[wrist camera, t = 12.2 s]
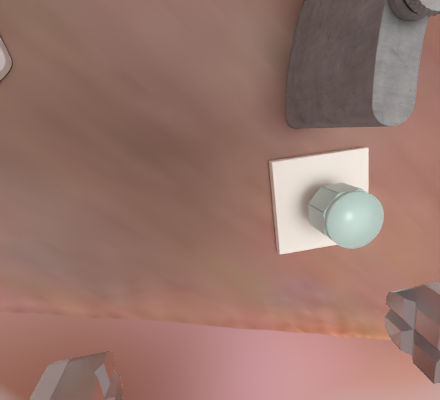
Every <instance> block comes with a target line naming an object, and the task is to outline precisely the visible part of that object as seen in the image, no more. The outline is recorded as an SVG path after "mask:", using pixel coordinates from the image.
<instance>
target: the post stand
mask: <svg viewBox="0 0 440 400" xmlns="http://www.w3.org/2000/svg"><path fill="white" fill-rule="evenodd" d="M269 169H270V181H271V192H272V203H273V214H274V225H275V236H276V248H277V251H278V252H279V254H286V253H291V252H297V251H303V250H309V249H314V248H320V247H326V246H331V245H337V244H336V243H335V242H334V241H332V240H331V239H329V238H328V237H327V236H325V235H324V234H323V233H321V232H320V231H319V230H317V229H316V228H315V227H313V226H312V225H310V223H309V210H308V204H309V202H310V200H311V199H312V198H313V197H314V195H315V194H316V193H317V191H318V190H319V189H320V188H321V187H322V186H326V185H331V184H336V183H345V184H348V185H351V186H354V187H358V188H361V189H363V190H364V191H366V192H367V193H368V148H367V147H358V148H351V149H345V150H338V151H331V152H325V153H318V154H311V155H305V156H298V157H291V158H285V159H278V160H271V161H269Z"/></svg>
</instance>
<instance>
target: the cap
mask: <svg viewBox="0 0 440 400" xmlns="http://www.w3.org/2000/svg"><path fill="white" fill-rule="evenodd" d="M308 210H309V223H310V225H312V226H313V227H315V228H316V229H317V230H319V231H320V232H321V233H323V234H324V235H325V236H327V237H328V238H329V239H331V240H332V241H334V242H335V243H336V244H338V245H339V246H341V247H344V248H350V249H351V248H359V247H362V246H364V245H366V244H368V243H369V242H371V241H372V240H373V239H374V238H375V237H376V236H377V234H378V233H379V231H380V229H381V227H382V224H383V220H384V212H383V208H382V205H381V203H380V202H379V200H378V199H377V198H376V197H374V196H373V195H371V194H369V193H367V192H366V191H364V190H363V189H361V188H358V187H354V186H351V185H348V184H345V183H336V184H331V185H326V186H322V187H321V188H320V189H319V190H318V191H317V193H316V194H315V195H314V197H313V198H312V199H311V200H310V202H309V204H308Z"/></svg>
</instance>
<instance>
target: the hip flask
mask: <svg viewBox="0 0 440 400" xmlns="http://www.w3.org/2000/svg"><path fill="white" fill-rule="evenodd" d="M437 14H440V0H305V1H304V4H303V7H302V10H301V13H300V16H299V19H298V23H297V27H296V31H295V35H294V39H293V44H292V49H291V55H290V61H289V67H288V75H287V86H286V120H287V123H288V124H289V125H290V126H291V127H292V128H296V129H297V128H338V127H378V126H396V125H399V124H401V123H402V122H404V121H405V120H406V119H407V118H408V117H409V116H410V115H411V113H412V111H413V109H414V106H415V101H416V90H417V79H418V71H419V64H420V57H421V51H422V46H423V40H424V35H425V31H426V26H427V21H428V17H430V16H435V15H437Z"/></svg>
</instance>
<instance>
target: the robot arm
mask: <svg viewBox="0 0 440 400" xmlns="http://www.w3.org/2000/svg"><path fill="white" fill-rule="evenodd" d="M11 65H12V61H11V57H10V55H9V53H8V51H7V49H6V47H5V45H4V43H3V41H2V39H1V37H0V80H1V79H2V78H3V77H4V76H5V75H6V74H7V73H8V72H9V70H10V68H11ZM386 305H387V306H388V307H389V308H390V310H389V312H388V313H387V315H386V316H385V326H386V329H387V332H388V335H389V337H390V338H391V340H392V341H393V343H394V344H395V345H396V346H397V347H398V348H399V349H400V350H402V351H404V352H406V353H408V354H410V355H412V360H413V363H414V364H415V365H416V366H417V367H418V368H419V369H420V370H421V371H422V372H423V373H424V374H425V375H426V376H427V377H428V378H429V379H430V380H431V382H432V383H434V384H436V383H440V282H437V281H435V282H430V283H426V284H422V285H419V286H414V287H410V288H405V289H401V290H396V291H392V292H389V293H388V295H387V296H386ZM115 363H116V361H115V358H114V355H113V353H112V352H110V351H108V352H103V353H97V354H91V355H86V356H81V357H75V358H72V359H67V360H61V361H56V362H52V363H51V364H50V365H49V366H48V367H47V369H46V370H45V372H44V374H43V376H42V377H41V379H40V381H39V383H38V385H37V387H36V388H35V390H34V392H33V394H32V395H31V397H30V399H29V400H122V396H123V389H122V382H121V379H120V375H119V374H117V373H116V372H114V371H113V370H114V367H115Z"/></svg>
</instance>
